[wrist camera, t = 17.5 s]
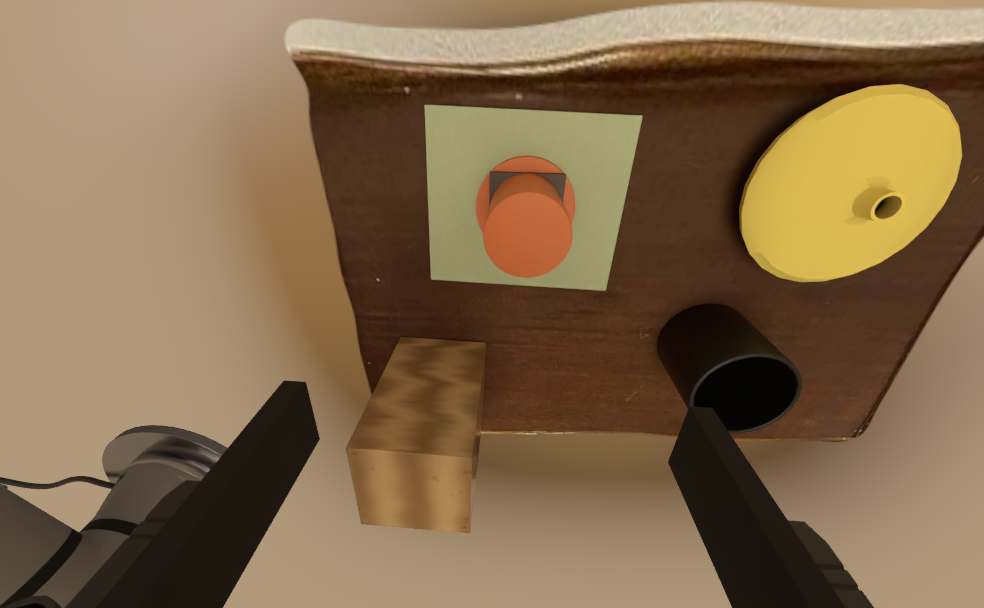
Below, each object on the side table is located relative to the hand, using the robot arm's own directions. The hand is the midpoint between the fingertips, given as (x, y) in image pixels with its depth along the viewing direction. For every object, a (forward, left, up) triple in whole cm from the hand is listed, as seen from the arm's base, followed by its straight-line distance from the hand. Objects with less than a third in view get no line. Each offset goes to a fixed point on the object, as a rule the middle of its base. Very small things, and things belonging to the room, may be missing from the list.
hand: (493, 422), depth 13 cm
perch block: (-7, -19, -26) cm, 33 cm away
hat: (+2, +2, -25) cm, 25 cm away
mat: (+1, +2, -26) cm, 26 cm away
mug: (+23, -12, -26) cm, 37 cm away
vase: (+27, +5, -26) cm, 38 cm away
